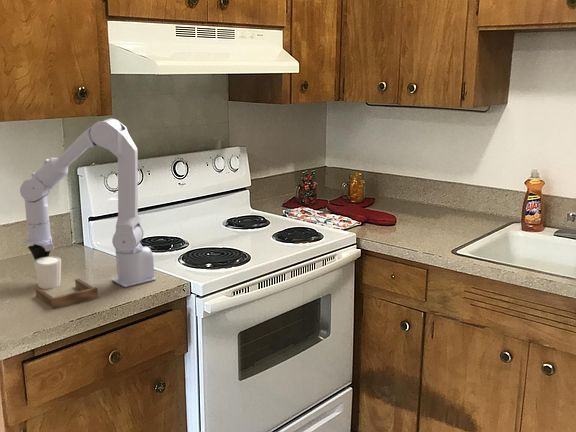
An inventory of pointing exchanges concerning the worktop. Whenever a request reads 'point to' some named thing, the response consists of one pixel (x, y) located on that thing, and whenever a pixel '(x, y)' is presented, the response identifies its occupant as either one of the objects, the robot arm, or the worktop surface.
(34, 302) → the worktop surface
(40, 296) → the walnut bay
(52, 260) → the white cylinder
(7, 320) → the worktop surface
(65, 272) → the worktop surface
